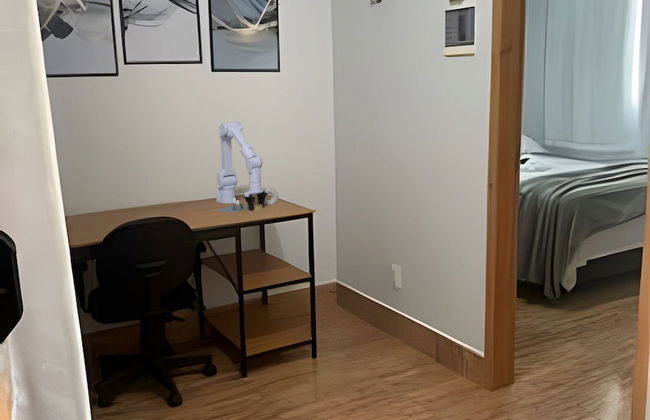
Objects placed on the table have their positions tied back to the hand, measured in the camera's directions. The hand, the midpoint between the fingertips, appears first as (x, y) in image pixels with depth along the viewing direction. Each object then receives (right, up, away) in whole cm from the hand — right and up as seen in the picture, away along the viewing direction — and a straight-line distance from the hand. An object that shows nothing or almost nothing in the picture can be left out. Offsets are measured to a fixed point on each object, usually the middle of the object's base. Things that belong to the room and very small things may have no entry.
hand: (256, 208), depth 312 cm
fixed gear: (-9, 0, 0) cm, 9 cm away
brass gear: (0, -2, 0) cm, 2 cm away
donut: (+5, +1, +12) cm, 13 cm away
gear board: (-11, -1, +3) cm, 11 cm away
